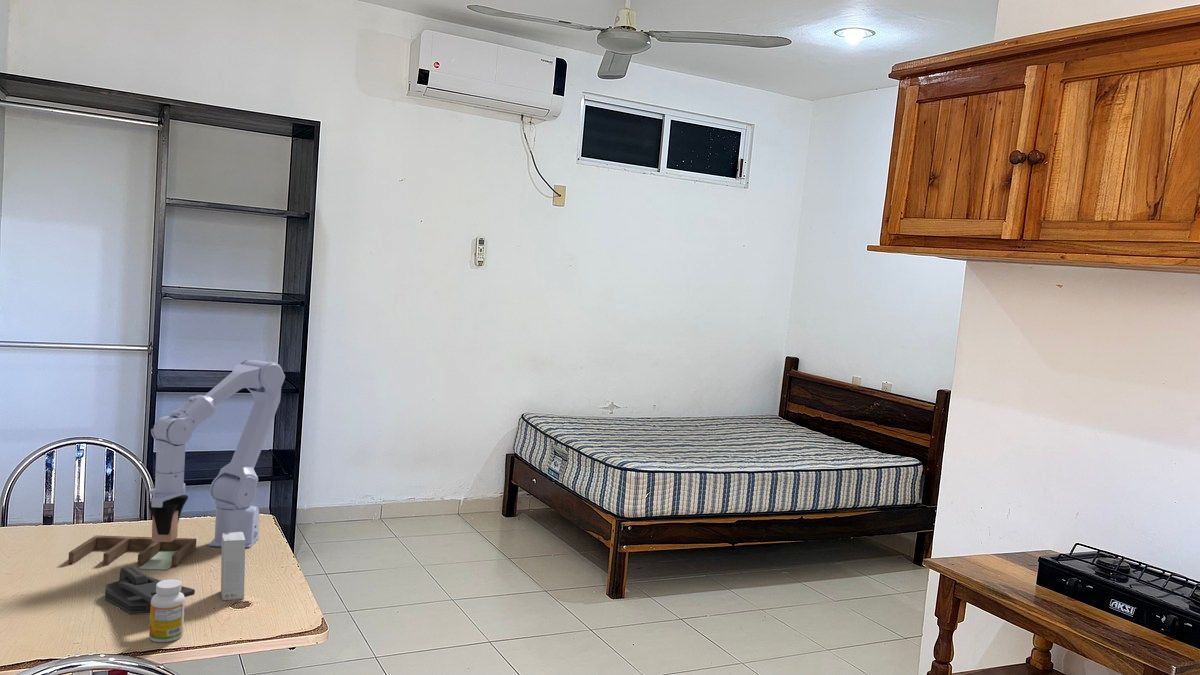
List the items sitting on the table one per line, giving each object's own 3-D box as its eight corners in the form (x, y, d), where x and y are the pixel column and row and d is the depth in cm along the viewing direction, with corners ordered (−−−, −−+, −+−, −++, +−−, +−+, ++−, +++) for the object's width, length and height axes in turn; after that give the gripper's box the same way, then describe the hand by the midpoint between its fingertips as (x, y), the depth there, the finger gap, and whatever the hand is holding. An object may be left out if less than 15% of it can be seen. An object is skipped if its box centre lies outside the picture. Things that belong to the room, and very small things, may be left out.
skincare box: (244, 599, 174) (247, 539, 173) (220, 601, 172) (223, 541, 171) (242, 588, 180) (245, 530, 179) (218, 590, 178) (221, 532, 177)
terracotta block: (177, 536, 196) (178, 510, 196) (170, 542, 192) (171, 515, 192) (158, 536, 196) (159, 509, 195) (151, 541, 192) (152, 514, 191)
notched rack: (195, 549, 202) (196, 538, 202) (172, 570, 187) (173, 558, 187) (95, 546, 199) (95, 535, 199) (63, 567, 185) (64, 555, 185)
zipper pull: (148, 599, 154) (100, 561, 171) (147, 636, 154) (98, 595, 171) (200, 589, 160) (148, 553, 177) (198, 624, 161) (147, 585, 178)
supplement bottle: (156, 628, 157) (158, 576, 156) (187, 630, 157) (190, 578, 156) (143, 642, 152) (146, 588, 151) (176, 643, 152) (179, 590, 151)
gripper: (163, 463, 200) (160, 521, 201) (137, 477, 185) (135, 540, 186) (195, 464, 201) (193, 522, 201) (172, 478, 186) (169, 541, 187)
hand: (167, 531), depth 194 cm, fingers closed on terracotta block, 4 cm apart
